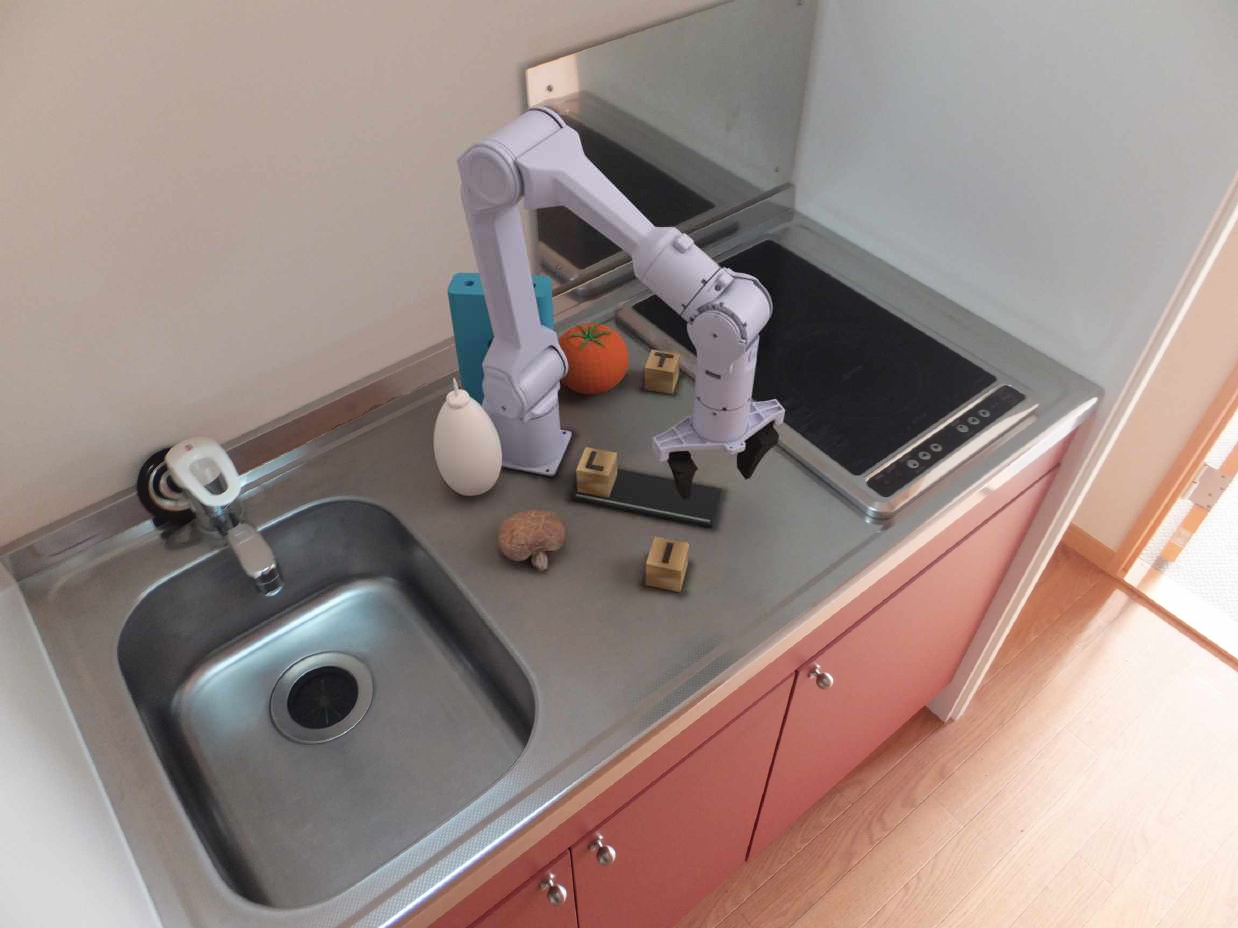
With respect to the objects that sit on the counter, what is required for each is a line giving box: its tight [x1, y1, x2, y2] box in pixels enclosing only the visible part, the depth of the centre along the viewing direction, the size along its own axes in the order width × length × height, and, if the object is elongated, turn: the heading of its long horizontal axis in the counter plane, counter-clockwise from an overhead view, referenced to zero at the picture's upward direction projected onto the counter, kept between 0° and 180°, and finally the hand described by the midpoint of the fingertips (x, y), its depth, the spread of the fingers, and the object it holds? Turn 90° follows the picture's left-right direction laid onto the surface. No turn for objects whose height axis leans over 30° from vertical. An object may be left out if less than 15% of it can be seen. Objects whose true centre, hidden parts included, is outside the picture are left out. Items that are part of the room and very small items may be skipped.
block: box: [446, 272, 555, 407], centre depth 111 cm, size 12×5×20 cm, turn 86°
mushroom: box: [497, 509, 567, 572], centre depth 100 cm, size 8×6×8 cm
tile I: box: [645, 536, 690, 593], centre depth 98 cm, size 4×4×4 cm
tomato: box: [558, 320, 630, 395], centre depth 118 cm, size 10×10×10 cm
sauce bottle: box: [433, 377, 502, 497], centre depth 102 cm, size 8×8×18 cm
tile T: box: [644, 349, 681, 395], centre depth 120 cm, size 4×4×4 cm
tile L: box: [575, 446, 618, 498], centre depth 107 cm, size 4×4×4 cm
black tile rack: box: [571, 468, 722, 529], centre depth 107 cm, size 17×6×1 cm, turn 75°
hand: (713, 483), depth 97 cm, fingers open, 7 cm apart
